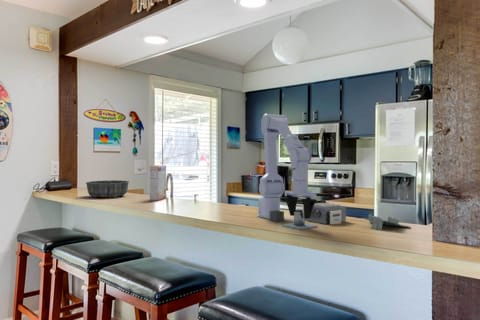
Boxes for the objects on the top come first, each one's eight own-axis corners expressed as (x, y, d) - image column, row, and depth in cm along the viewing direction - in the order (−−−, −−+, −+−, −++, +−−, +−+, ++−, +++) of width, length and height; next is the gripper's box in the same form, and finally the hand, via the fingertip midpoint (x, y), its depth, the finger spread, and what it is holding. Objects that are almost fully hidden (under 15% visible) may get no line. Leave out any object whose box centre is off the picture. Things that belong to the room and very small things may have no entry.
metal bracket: (398, 216, 125) (357, 211, 136) (396, 233, 124) (355, 227, 135) (412, 223, 135) (373, 218, 146) (410, 239, 134) (371, 233, 144)
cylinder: (291, 224, 135) (291, 209, 135) (299, 223, 137) (299, 208, 137) (298, 226, 131) (298, 210, 131) (306, 225, 134) (307, 210, 134)
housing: (302, 220, 149) (302, 204, 149) (323, 217, 156) (323, 202, 156) (324, 224, 139) (324, 207, 139) (345, 221, 147) (345, 205, 147)
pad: (282, 225, 135) (282, 224, 135) (299, 223, 141) (299, 222, 141) (299, 229, 128) (299, 228, 128) (317, 227, 133) (317, 225, 133)
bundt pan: (98, 200, 216) (98, 183, 216) (78, 196, 233) (78, 181, 233) (136, 197, 235) (137, 181, 235) (116, 194, 253) (116, 179, 253)
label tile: (329, 224, 139) (329, 211, 139) (339, 223, 143) (340, 210, 143) (331, 224, 139) (331, 211, 139) (341, 223, 142) (341, 210, 142)
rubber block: (269, 221, 147) (269, 211, 147) (277, 220, 149) (277, 210, 149) (276, 222, 144) (276, 212, 144) (283, 221, 146) (283, 211, 146)
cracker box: (157, 198, 228) (157, 165, 228) (166, 198, 227) (166, 165, 227) (148, 200, 214) (149, 165, 214) (158, 200, 213) (158, 165, 213)
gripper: (279, 179, 138) (278, 215, 138) (306, 181, 126) (306, 220, 126) (292, 179, 142) (292, 213, 142) (320, 181, 130) (320, 218, 130)
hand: (299, 216), depth 134 cm, fingers open, 7 cm apart
